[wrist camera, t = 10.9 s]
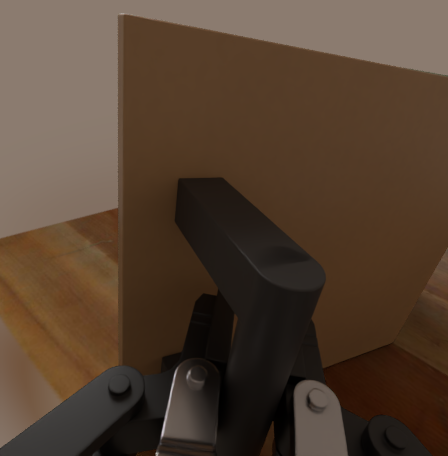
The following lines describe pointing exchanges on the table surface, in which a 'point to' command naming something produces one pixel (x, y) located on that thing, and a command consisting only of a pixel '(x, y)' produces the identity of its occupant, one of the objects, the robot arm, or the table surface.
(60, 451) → the robot arm
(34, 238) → the table surface
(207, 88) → the cupboard door
